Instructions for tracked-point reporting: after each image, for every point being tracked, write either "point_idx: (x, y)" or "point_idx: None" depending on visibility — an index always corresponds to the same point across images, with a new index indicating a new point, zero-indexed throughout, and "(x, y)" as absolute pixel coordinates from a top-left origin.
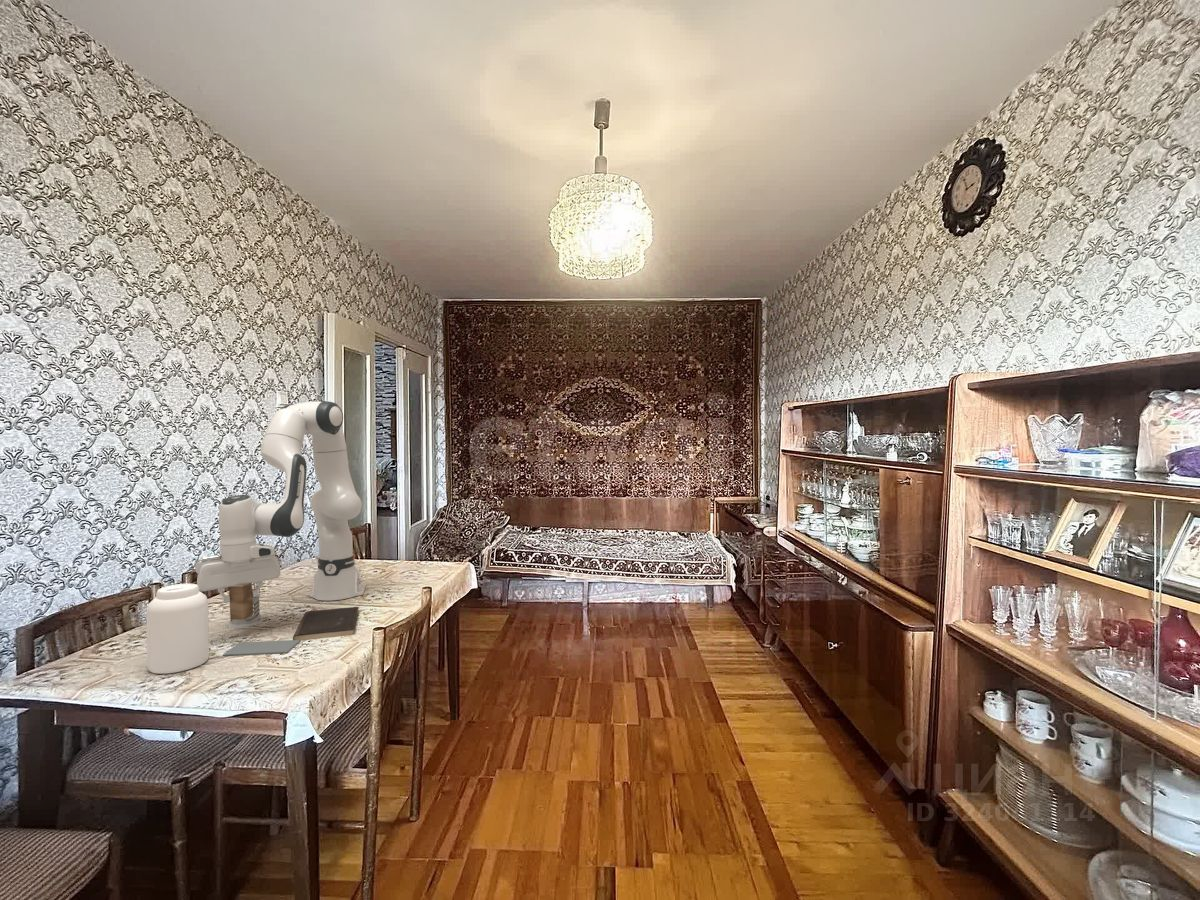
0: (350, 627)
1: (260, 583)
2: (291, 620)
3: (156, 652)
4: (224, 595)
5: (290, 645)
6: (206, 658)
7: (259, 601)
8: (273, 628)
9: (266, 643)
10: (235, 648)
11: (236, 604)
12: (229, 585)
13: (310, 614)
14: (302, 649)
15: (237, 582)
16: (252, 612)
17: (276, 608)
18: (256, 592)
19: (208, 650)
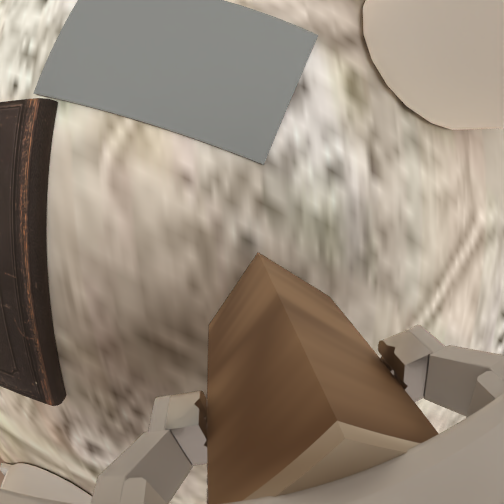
0: None
1: (112, 490)
2: (97, 383)
3: None
4: (452, 355)
5: (70, 36)
6: (365, 2)
7: (207, 483)
8: (142, 322)
9: (149, 89)
10: (275, 83)
11: (327, 321)
12: (486, 418)
13: (27, 364)
14: (47, 7)
15: (413, 483)
16: (212, 328)
17: (179, 492)
18: (166, 421)
19: (374, 13)
